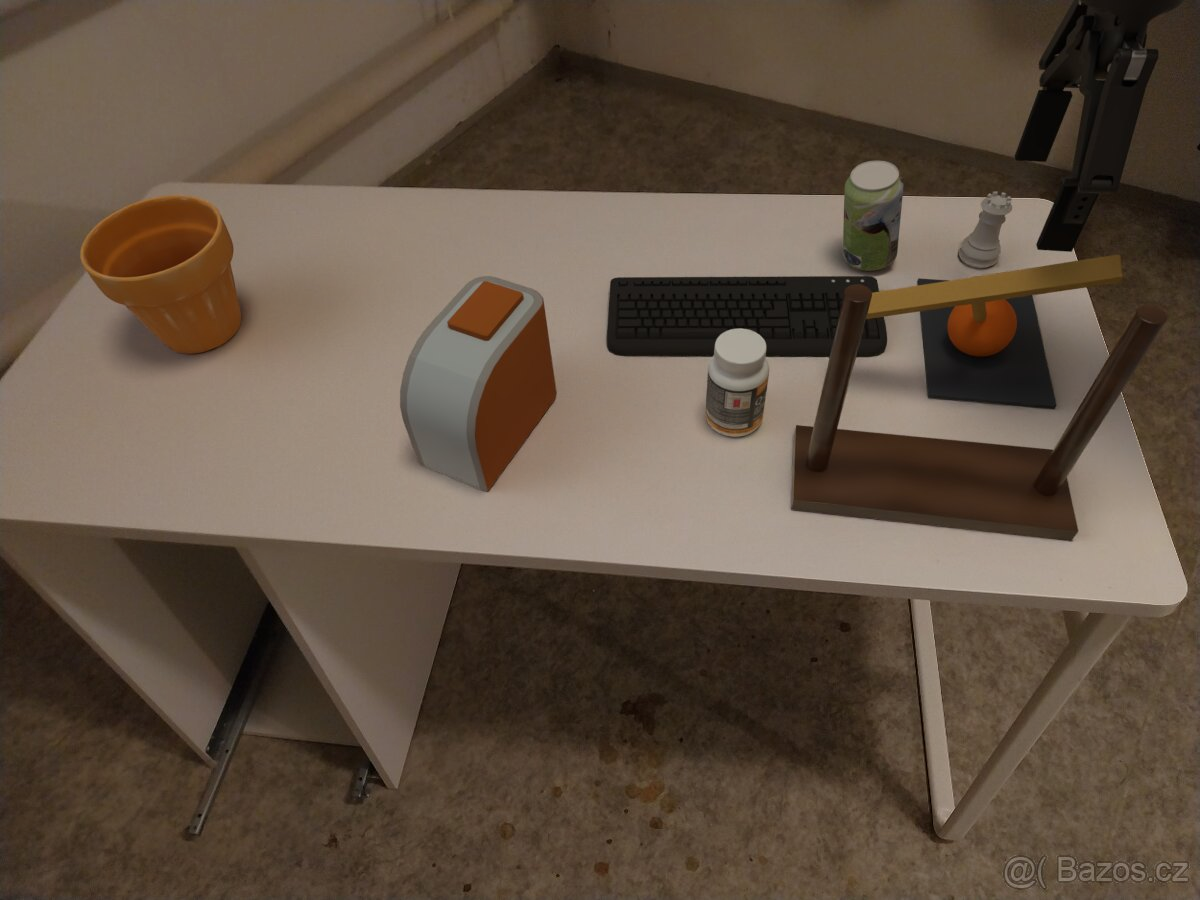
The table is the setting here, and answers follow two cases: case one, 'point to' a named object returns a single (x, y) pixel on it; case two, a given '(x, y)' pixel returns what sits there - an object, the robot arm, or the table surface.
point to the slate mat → (988, 362)
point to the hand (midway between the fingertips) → (1041, 201)
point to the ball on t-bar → (993, 299)
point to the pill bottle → (737, 383)
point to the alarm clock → (478, 381)
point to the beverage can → (872, 215)
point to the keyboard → (733, 314)
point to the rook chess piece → (986, 233)
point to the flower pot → (168, 269)
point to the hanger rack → (950, 452)
